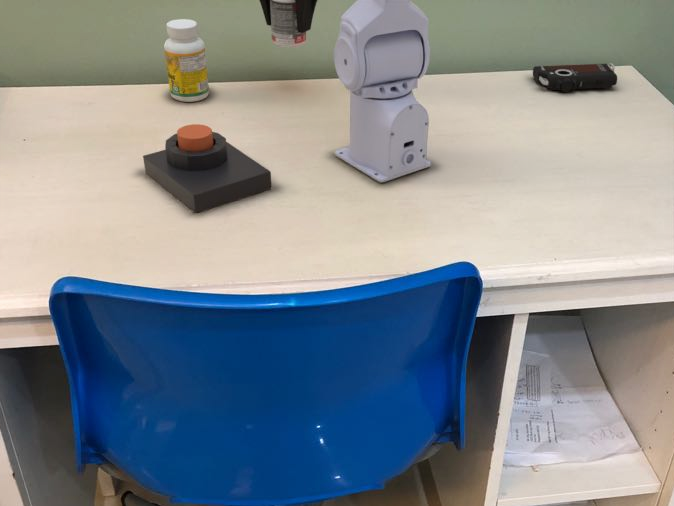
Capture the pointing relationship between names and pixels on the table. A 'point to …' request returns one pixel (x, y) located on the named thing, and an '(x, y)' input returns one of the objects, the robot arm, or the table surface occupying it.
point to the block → (207, 173)
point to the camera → (576, 76)
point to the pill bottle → (285, 24)
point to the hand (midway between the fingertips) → (288, 27)
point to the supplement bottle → (186, 61)
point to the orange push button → (195, 137)
